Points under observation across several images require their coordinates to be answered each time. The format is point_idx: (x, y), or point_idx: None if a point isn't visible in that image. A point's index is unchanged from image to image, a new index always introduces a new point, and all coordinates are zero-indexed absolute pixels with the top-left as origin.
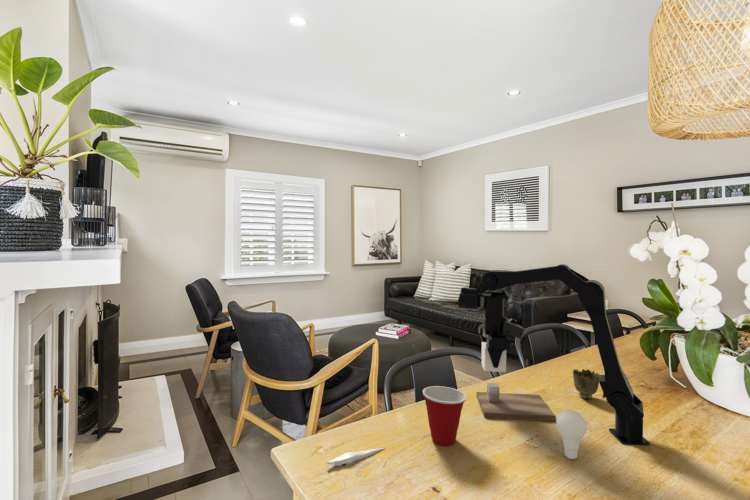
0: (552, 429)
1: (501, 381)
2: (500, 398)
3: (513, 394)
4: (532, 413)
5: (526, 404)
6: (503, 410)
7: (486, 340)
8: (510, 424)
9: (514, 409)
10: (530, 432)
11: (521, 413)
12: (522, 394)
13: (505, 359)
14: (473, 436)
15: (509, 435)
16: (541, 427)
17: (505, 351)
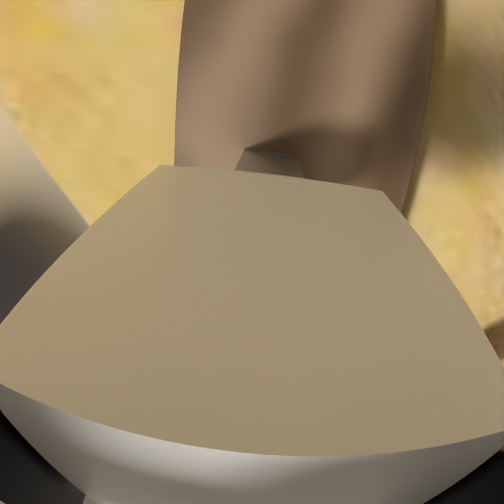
0: (483, 34)
1: (15, 79)
2: (248, 132)
3: (192, 48)
4: (422, 51)
5: (324, 26)
6: (387, 169)
7: (61, 499)
8: (444, 166)
9: (380, 112)
10: (496, 125)
11: (420, 101)
12: (191, 3)
13: (435, 271)
14: (468, 301)
15: (496, 204)
16: (472, 62)
17: (494, 373)
